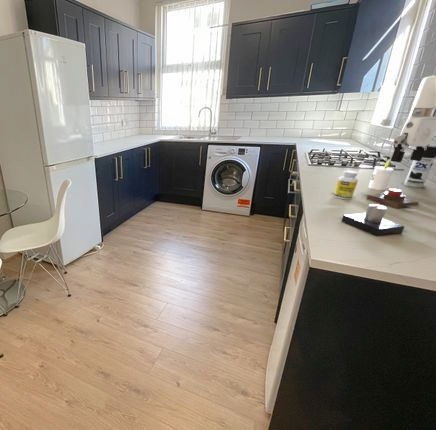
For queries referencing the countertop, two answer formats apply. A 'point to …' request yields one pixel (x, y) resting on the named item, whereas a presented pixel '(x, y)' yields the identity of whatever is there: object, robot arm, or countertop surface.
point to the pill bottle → (346, 185)
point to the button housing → (392, 200)
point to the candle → (381, 177)
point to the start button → (395, 192)
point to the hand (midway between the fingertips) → (405, 160)
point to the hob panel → (372, 225)
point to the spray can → (421, 168)
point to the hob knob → (375, 213)
